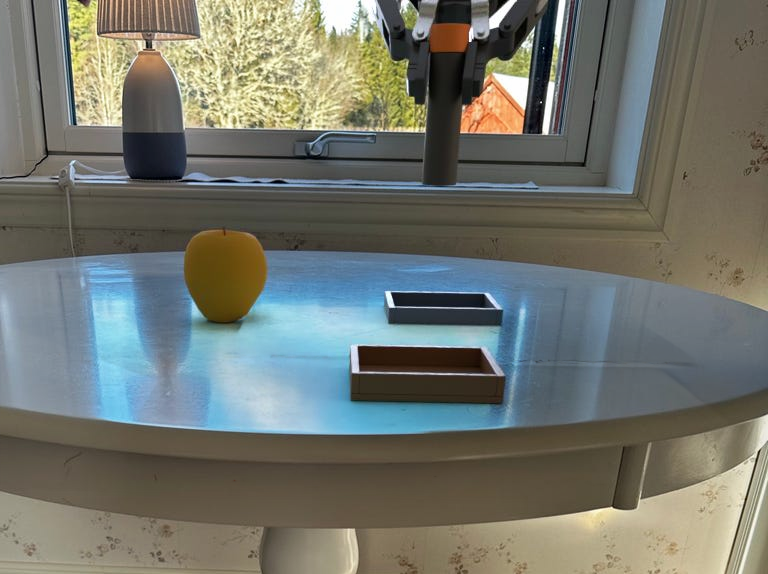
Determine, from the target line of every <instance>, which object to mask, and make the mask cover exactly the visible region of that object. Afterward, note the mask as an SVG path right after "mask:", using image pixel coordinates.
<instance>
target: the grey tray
mask: <svg viewBox="0 0 768 574" xmlns="http://www.w3.org/2000/svg"><path fill="white" fill-rule="evenodd" d="M383 307H384V312H385V316H386V320H387V324H388V325H436V326H438V325H440V326H441V325H442V326H488V327H489V326H491V327H492V326H497V327H499V326H500V327H501V326H502V325H503V317H504V309H503V307H502V306H501V305H500V304H499V302H498V301H497V300H496V299H495V298H494V297H493V295H491V293H489V292H467V291H466V292H461V291H460V292H459V291H458V292H457V291H402V290H401V291H399V290H398V291H396V290H392V291H390V290H385V291H384V298H383Z"/></svg>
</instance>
